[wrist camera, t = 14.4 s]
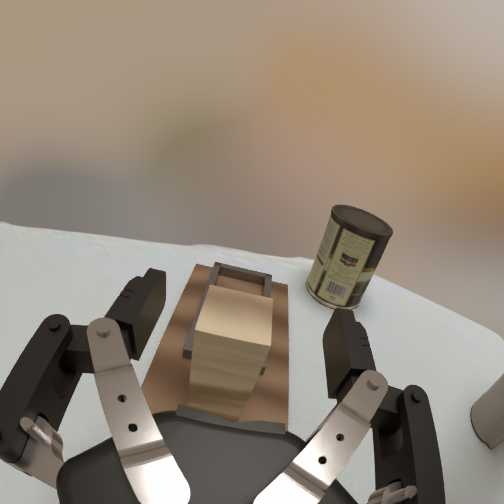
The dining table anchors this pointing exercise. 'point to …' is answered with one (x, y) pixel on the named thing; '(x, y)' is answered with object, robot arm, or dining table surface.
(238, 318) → the birch block
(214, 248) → the dining table surface
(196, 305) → the board
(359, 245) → the coffee can
